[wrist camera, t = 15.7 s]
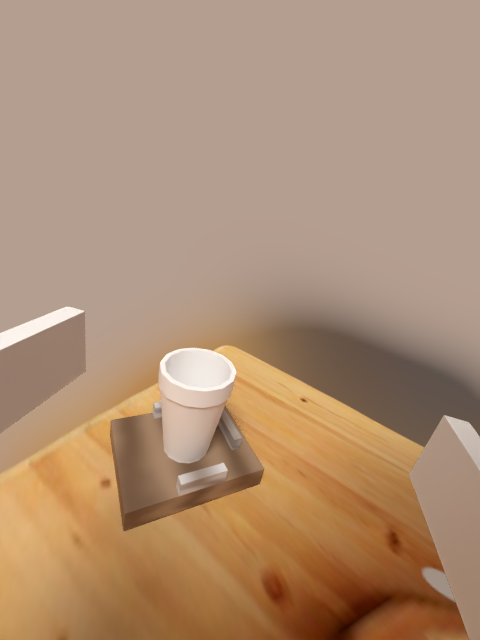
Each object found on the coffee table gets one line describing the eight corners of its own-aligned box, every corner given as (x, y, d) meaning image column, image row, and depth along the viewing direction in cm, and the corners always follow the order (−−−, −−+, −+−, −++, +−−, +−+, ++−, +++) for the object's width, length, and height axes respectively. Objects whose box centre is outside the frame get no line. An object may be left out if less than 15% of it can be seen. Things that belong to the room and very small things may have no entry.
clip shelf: (219, 414, 53) (224, 391, 51) (259, 483, 42) (267, 458, 40) (110, 435, 44) (111, 409, 42) (123, 531, 33) (125, 501, 31)
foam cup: (136, 452, 39) (143, 370, 34) (175, 412, 47) (185, 340, 42) (199, 486, 36) (216, 402, 31) (229, 437, 44) (246, 364, 39)
